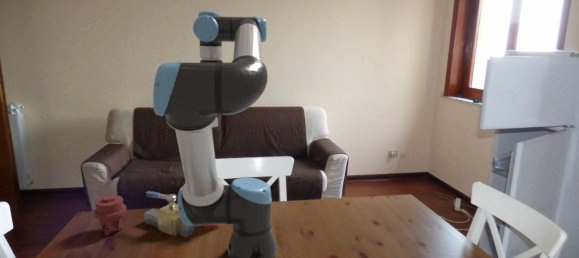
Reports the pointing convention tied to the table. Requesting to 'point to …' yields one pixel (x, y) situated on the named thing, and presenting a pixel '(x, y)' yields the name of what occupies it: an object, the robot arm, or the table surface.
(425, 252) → the table surface
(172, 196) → the lever
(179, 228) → the pipe
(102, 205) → the mechanical component
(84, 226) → the table surface
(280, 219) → the table surface
